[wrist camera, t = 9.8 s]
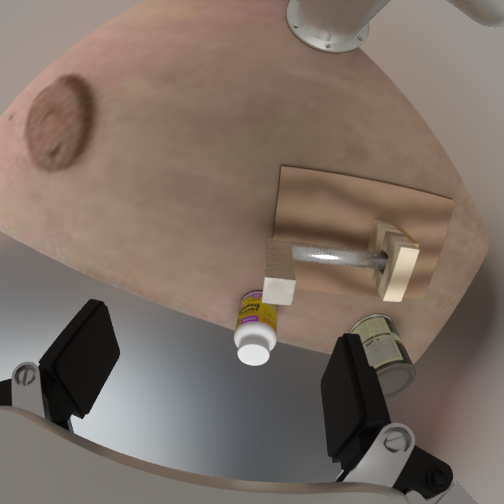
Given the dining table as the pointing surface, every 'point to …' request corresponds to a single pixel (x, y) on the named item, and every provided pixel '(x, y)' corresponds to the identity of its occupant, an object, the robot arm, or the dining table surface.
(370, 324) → the coffee can
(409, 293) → the bearing stand
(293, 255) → the crank handle
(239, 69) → the dining table surface
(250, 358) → the supplement bottle
